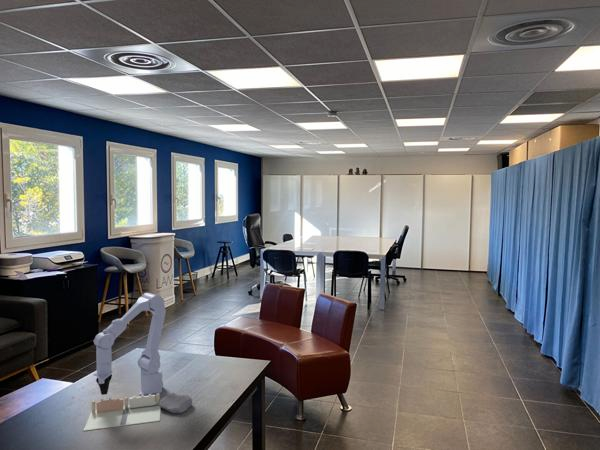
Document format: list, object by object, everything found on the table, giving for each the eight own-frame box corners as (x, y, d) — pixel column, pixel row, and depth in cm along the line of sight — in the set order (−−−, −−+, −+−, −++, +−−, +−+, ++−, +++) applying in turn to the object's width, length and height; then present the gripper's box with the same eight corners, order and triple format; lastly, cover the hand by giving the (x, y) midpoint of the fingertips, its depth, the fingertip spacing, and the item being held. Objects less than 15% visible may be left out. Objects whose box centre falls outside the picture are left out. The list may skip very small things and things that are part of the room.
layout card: (161, 401, 182) (161, 400, 182) (159, 421, 166) (159, 420, 166) (92, 409, 174) (92, 408, 174) (83, 431, 158) (83, 430, 158)
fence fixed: (160, 404, 179) (159, 392, 179) (159, 406, 178) (159, 394, 177) (124, 408, 175) (124, 396, 175) (124, 410, 174) (124, 398, 174)
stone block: (180, 419, 170) (194, 403, 179) (179, 408, 169) (193, 393, 178) (156, 414, 174) (170, 399, 183) (154, 404, 173) (169, 389, 182)
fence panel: (123, 407, 175) (123, 396, 175) (123, 409, 174) (123, 398, 173) (91, 411, 172) (91, 400, 171) (91, 413, 170) (91, 401, 170)
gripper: (96, 356, 182) (97, 387, 183) (90, 369, 168) (90, 402, 169) (114, 355, 184) (114, 385, 185) (109, 367, 170) (109, 400, 171)
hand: (104, 393), depth 177 cm, fingers closed
